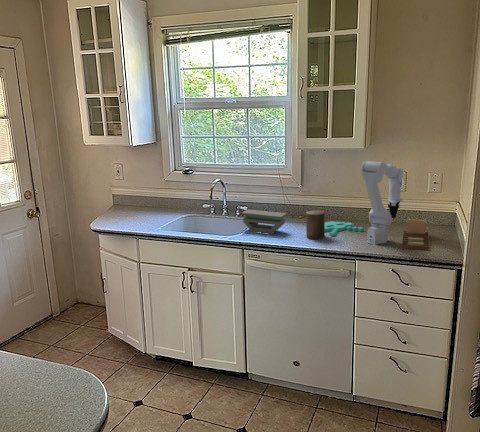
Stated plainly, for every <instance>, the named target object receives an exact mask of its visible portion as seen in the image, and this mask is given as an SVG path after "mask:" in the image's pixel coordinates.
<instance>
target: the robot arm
mask: <svg viewBox="0 0 480 432" xmlns="http://www.w3.org/2000/svg"><path fill="white" fill-rule="evenodd" d="M360 172H361V176H362V178H363V179H362V180H364V184H365V187H366V190H367V194H368V197H369V201H370V205H371V209H370V211H369V213H368V221H369V223H370V224H371V226H370V227H368V228H367V231H366V232H367V233H366V241H365V242H366V243H368V244H371V245H379V244H385V243H387V242H388V228H389V227H390V226H391V223H392V221H393V219H396V218H397V213H398V210H399V209H400V205H399V204H400V203H401V202H403V198H401V191H402V190H401V187H402V182H403V177H404V169H402V168H401V167H397V166H396V165H393V163H388V164H386V162H384V161H373V160H372V161H369V160H364V161H363V162H362V164H361V168H360ZM384 176H387V179H388V180H389V182H388V198H387V201H388V204H387V207H388V209H386V208H385V207H384V203H383V200H382V196H381V191H380V189H379V183H380V182H382V180H383V178H384Z"/></svg>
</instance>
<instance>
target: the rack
mask: <svg viewBox="0 0 480 432" xmlns="http://www.w3.org/2000/svg"><path fill="white" fill-rule="evenodd" d="M408 237H410V238H423V243H424V245H423V246H418V245H408V242H422V241H408ZM430 245H431V242H430V235H429V232H428V231H425V234H421V233H406V230H403V233H402V235H401V244H400V250H407V251H420V252H431V246H430Z"/></svg>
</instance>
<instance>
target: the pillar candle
mask: <svg viewBox="0 0 480 432" xmlns="http://www.w3.org/2000/svg"><path fill="white" fill-rule="evenodd" d="M305 213H306V214H305V215H306V216H305V217H306V220H305V221H306V238H307V239H310V240H321V239H322V240H323V239H324V238H325V236H326V235H325V233H326V232H325V221H326V220H325V217H326V216H325V211H323V210H320V209H317V210H315V209H314V210H308V211H306V212H305Z"/></svg>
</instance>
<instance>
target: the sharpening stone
mask: <svg viewBox="0 0 480 432" xmlns="http://www.w3.org/2000/svg"><path fill="white" fill-rule="evenodd" d="M240 213H241V214H240V215H241V216H245V217H243V219H242V222H243V224H244V225H246V227H247V229H249V230H250V232H251V233H255V232H261V233H260V234H263V233H268V234H267V235H273V232H274V233H275V232H277V231H278V230H279V229H280V228H282V226H283V225H284V224H285V223H286V217H288V213H287V212H279V211H268V210H257V209H246V210H244V211H242V212H240ZM276 230H277V231H276Z"/></svg>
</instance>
